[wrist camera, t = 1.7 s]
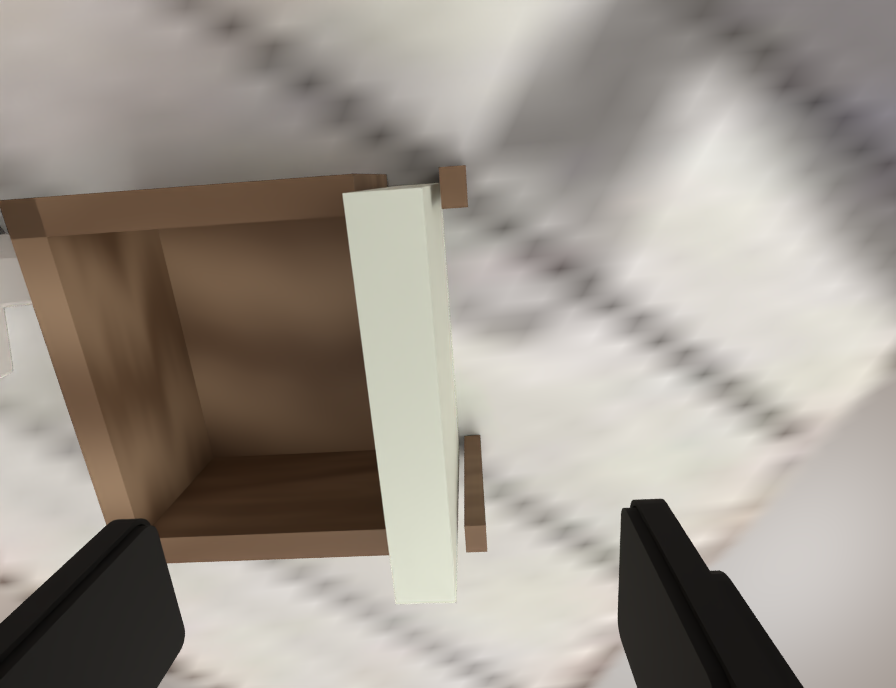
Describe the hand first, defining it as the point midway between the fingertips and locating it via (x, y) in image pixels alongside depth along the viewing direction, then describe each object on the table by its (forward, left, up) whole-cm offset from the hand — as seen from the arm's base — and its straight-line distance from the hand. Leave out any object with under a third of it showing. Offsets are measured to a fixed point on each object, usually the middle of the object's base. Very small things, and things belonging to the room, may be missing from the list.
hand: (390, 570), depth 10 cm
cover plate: (-1, 0, -15) cm, 15 cm away
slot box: (-1, -6, -15) cm, 16 cm away
